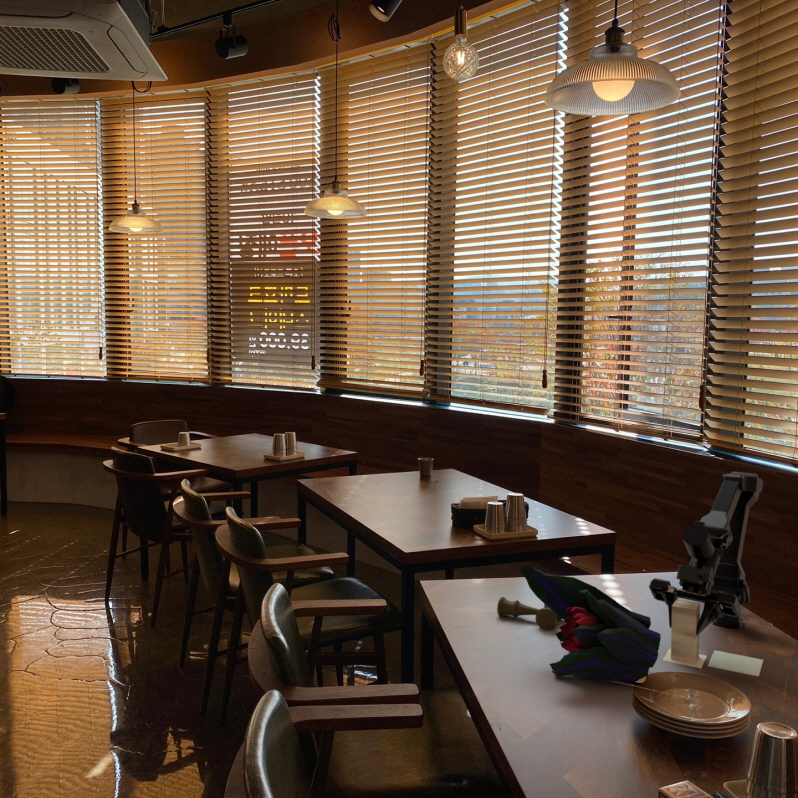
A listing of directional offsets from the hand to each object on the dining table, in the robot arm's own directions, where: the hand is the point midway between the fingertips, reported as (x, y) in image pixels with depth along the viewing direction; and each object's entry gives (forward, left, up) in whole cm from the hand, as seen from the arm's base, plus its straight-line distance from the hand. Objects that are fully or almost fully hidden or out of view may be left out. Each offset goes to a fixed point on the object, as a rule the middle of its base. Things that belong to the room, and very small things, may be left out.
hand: (683, 630), depth 164 cm
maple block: (-1, 0, -7) cm, 7 cm away
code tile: (-1, 0, -7) cm, 7 cm away
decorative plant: (+19, -16, -7) cm, 26 cm away
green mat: (-4, +10, -7) cm, 13 cm away
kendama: (-6, -36, -7) cm, 38 cm away
